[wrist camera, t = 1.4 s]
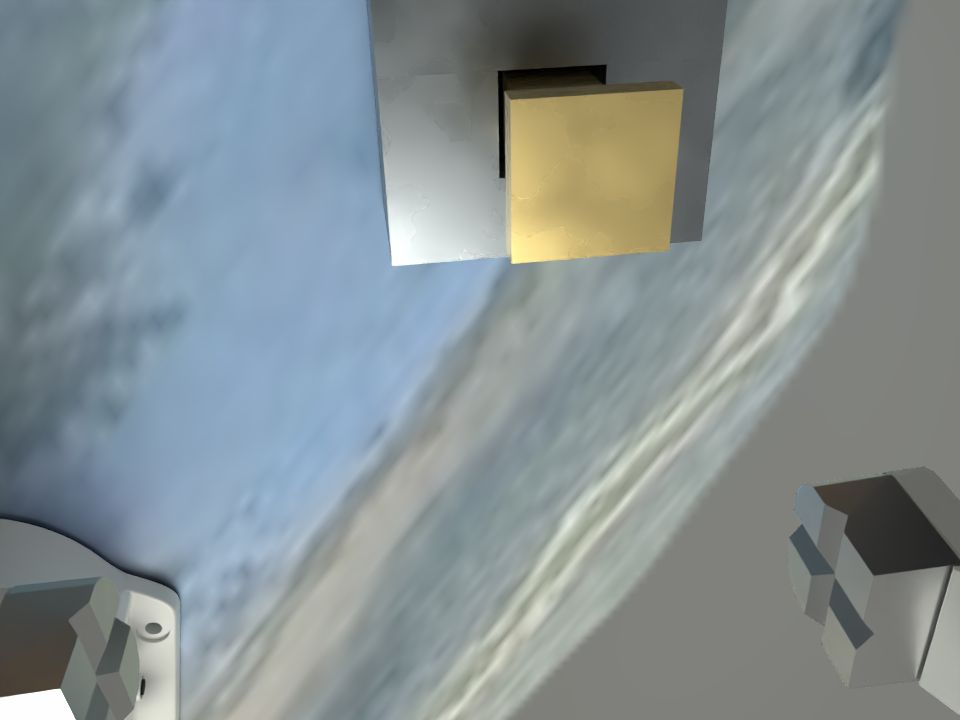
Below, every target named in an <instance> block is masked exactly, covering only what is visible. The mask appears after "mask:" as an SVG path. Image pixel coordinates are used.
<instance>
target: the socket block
mask: <svg viewBox="0 0 960 720" xmlns="http://www.w3.org/2000/svg"><path fill="white" fill-rule="evenodd" d="M366 1H367V13H368V25H369V37H370V49H371V61H372V72H373V84H374V96H375V108H376V120H377V132H378V144H379V156H380V168H381V179H382V191H383V203H384V212H385V219H386V226H387V233H388V240H389V247H390V254H391V261H392V266H399V265H411V264H424V263H436V262H448V261H460V260H472V259H484V258H496V257H508V254H507V251H506V175H505V156H504V154H503V129H499V118H498V71H503V70H520V69H537V68H554V67H567V68H576V67H585V68H586V69H587V70H588V71H589V72H590V73H591V74H593V75H594V76H595V77H596V78H597V79H598V80H599V81H600V82H601V83H602V84H603V85H608V84H624V83H640V82H656V81H674V82H675V83H676V84H678V85H679V86H680V87H682V88H683V89H684V90H683V101H682V112H681V123H680V135H679V146H678V157H677V168H676V179H675V190H674V201H673V213H672V224H671V235H670V243H677V242H689V241H701V238H702V229H703V220H704V211H705V202H706V193H707V183H708V174H709V165H710V156H711V147H712V138H713V128H714V119H715V110H716V101H717V92H718V83H719V73H720V64H721V55H722V46H723V37H724V27H725V18H726V9H727V0H366Z"/></svg>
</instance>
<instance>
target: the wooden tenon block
mask: <svg viewBox="0 0 960 720" xmlns="http://www.w3.org/2000/svg"><path fill="white" fill-rule="evenodd" d="M502 84H503V154H504V156H505V175H506V251H507V254H508V256H509V258H510V261H511V263H512V264H514V263H526V262H538V261H550V260H562V259H574V258H586V257H598V256H610V255H622V254H634V253H646V252H658V251H669V246H670V235H671V224H672V213H673V201H674V190H675V179H676V168H677V157H678V146H679V135H680V123H681V112H682V101H683V90H684V89H683V88H682V87H680V86H679V85H678V84H676V83H675V82H674V81H656V82H640V83H624V84H608V85H603V84H602V83H601V82H600V81H599V80H598V79H597V78H596V77H595V76H594V75H593V74H591V73H590V72H589V71H588V70H587V69H586V68H585V67H576V68H559V69H542V70H526V71H509V72H502Z"/></svg>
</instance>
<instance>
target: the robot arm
mask: <svg viewBox="0 0 960 720" xmlns="http://www.w3.org/2000/svg"><path fill="white" fill-rule="evenodd" d="M794 511H795V513H796V514H797V516H798V518H799V519H800V521H801V523H802V525H801V526H800V527H799V528H798V529H797V530H796V531H795V532H794V533H793V534H792V535H791V536H790V537H789V544H788V553H787V562H788V570H789V577H790V581H791V585H792V588H793V591H794V593H795V596H796V598H797V600H798V602H799V604H800V606H801V608H802V609H803V611H804V613H805V614H806V615H807V616H809V617H810V618H812V619H814V620H815V621H817V622H819V623H820V624H822V625H823V626H824V632H823V637H822V643H821V644H822V646H823V647H824V649H825V651H826V653H827V655H828V656H829V658H830V660H831V662H832V663H833V665H834V667H835V669H836V670H837V672H838V674H839V676H840V677H841V679H842V681H843V683H844V685H845V686H846V688H847V689H855V688H864V687H872V686H881V685H889V684H897V683H905V682H914V681H920V682H919V685H920V686H921V687H923V688H924V689H925V690H927V691H928V692H929V693H931V694H932V695H934V696H935V697H936V698H937V699H939V700H940V701H941V702H943V703H944V704H946V705H947V706H948V707H949V708H951V709H952V710H953V711H955V712H956V713H957V714H959V715H960V500H959V499H958V498H957V497H956V496H955V494H954V493H953V492H952V491H951V490H950V489H949V488H948V487H947V485H946V484H945V483H944V482H943V481H942V480H941V479H940V477H939V476H938V475H937V474H936V473H935V472H934V471H932V470H930V469H928V468H926V467H924V466H923V467H916V468H910V469H903V470H896V471H890V472H884V473H882V474H872V475H864V476H857V477H850V478H843V479H836V480H829V481H822V482H815V483H807V484H802V486H801V487H800V489H799V490H798V492H797V494H796V499H795V505H794ZM153 623H158V624H153ZM179 705H180V599H179V597H178V595H177V594H176V593H175V592H174V591H173V590H171V589H170V588H168V587H166V586H164V585H161V584H159V583H156V582H153V581H150V580H147V579H144V578H140V577H137V576H133V575H130V574H126V573H124V572H122V571H120V570H118V569H117V568H115V567H114V566H112V565H110V564H109V563H108V562H106V561H105V560H103V559H102V558H101V557H99V556H98V555H96V554H95V553H94V552H92V551H91V550H89V549H87V548H86V547H84V546H83V545H81V544H79V543H77V542H75V541H73V540H71V539H69V538H67V537H65V536H63V535H60V534H58V533H55V532H53V531H50V530H47V529H44V528H41V527H38V526H34V525H31V524H27V523H22V522H18V521H12V520H6V519H0V720H179Z"/></svg>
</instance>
